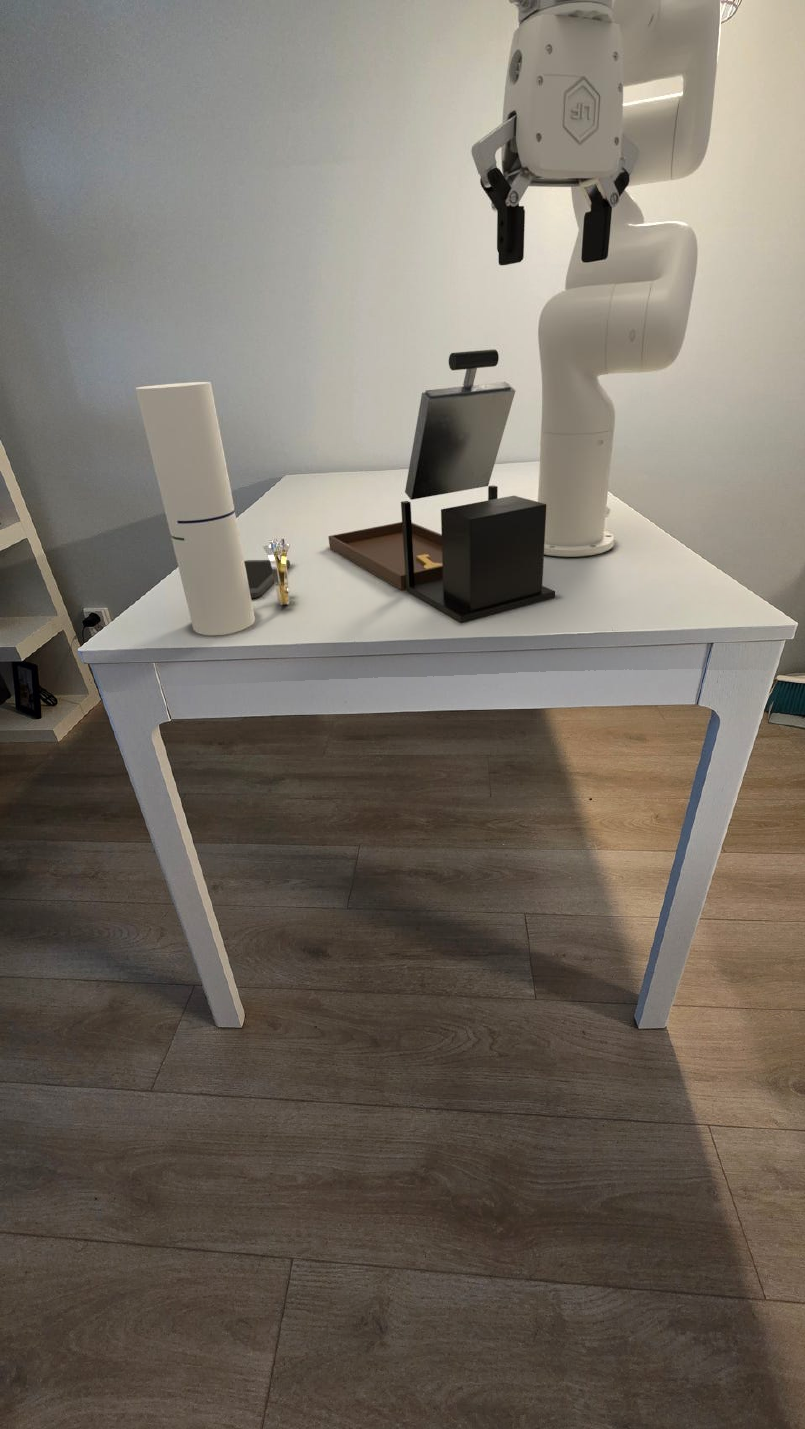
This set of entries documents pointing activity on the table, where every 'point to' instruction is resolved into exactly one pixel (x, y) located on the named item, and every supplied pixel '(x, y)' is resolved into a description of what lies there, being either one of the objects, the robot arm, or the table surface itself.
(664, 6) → the robot arm
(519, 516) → the stand
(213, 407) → the cylindrical container
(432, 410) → the dark tilted plate
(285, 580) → the ring
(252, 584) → the cell phone
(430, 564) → the yellow i-shaped piece
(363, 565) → the tray
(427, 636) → the table surface
